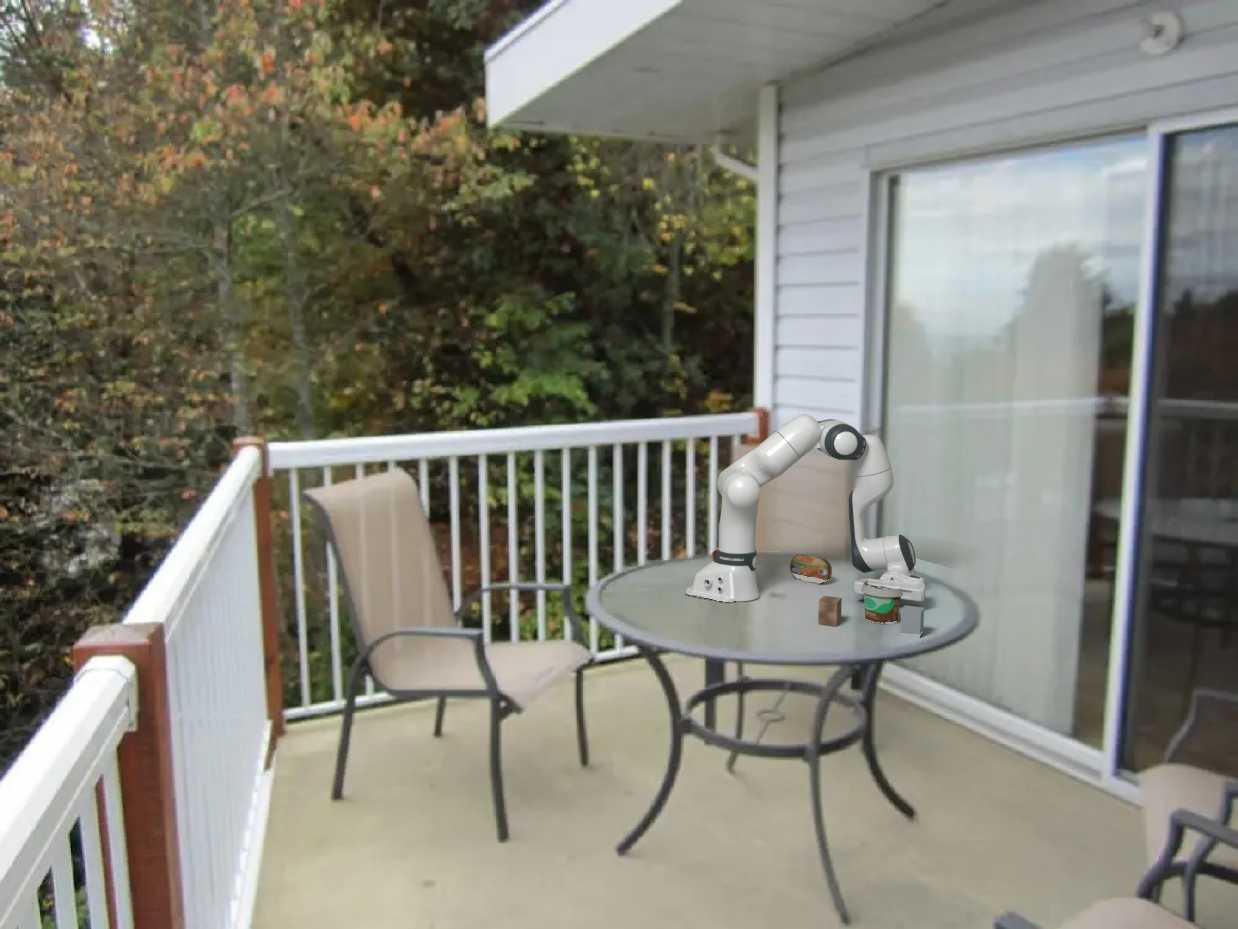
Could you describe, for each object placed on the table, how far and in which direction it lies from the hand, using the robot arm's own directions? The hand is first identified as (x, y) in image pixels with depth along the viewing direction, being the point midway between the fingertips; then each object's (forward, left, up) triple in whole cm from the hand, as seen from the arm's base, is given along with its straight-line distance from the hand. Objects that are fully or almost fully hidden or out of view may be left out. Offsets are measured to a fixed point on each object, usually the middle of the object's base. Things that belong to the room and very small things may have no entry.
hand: (884, 595), depth 281 cm
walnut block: (-11, -18, -5) cm, 22 cm away
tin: (-29, +27, -5) cm, 40 cm away
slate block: (+11, -18, -5) cm, 22 cm away
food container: (0, -10, -5) cm, 11 cm away
